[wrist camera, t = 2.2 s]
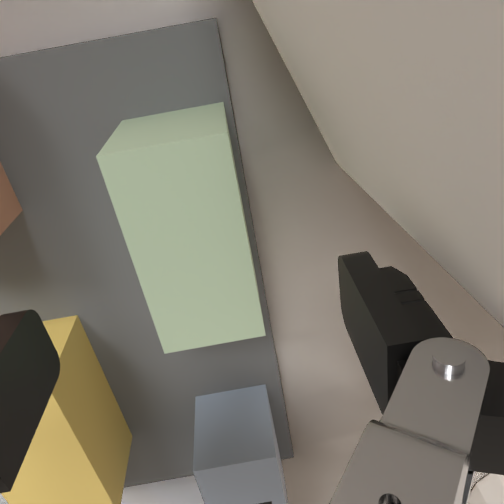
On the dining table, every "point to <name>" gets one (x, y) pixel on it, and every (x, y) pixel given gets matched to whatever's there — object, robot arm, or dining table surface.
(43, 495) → the mustard block
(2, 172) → the terracotta block
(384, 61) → the milk
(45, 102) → the mat
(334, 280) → the dining table surface
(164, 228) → the green block
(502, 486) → the white cup
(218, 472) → the blue block
